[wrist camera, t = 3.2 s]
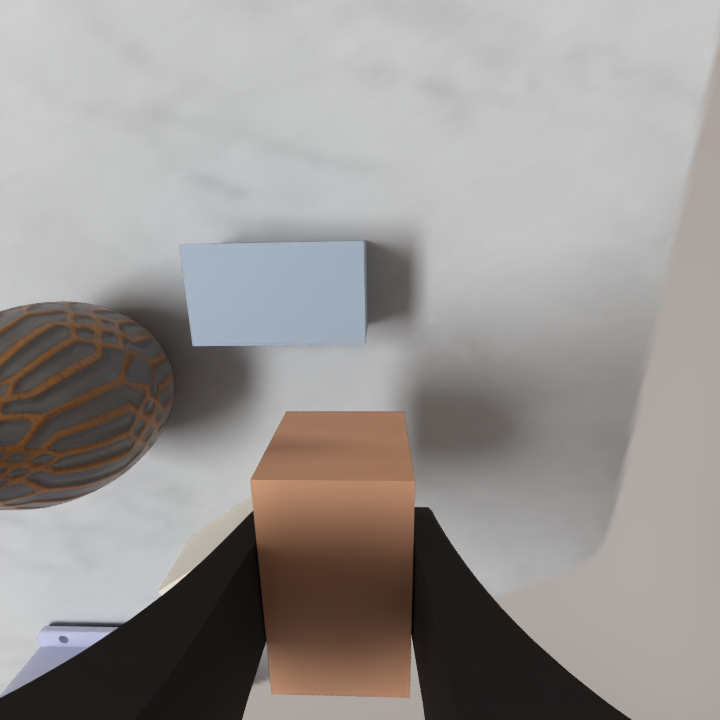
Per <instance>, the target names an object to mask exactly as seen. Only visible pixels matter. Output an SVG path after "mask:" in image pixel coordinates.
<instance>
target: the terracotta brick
mask: <svg viewBox="0 0 720 720" xmlns="http://www.w3.org/2000/svg"><path fill="white" fill-rule="evenodd" d="M250 481H251V491H252V501H253V511H254V521H255V531H256V541H257V551H258V561H259V571H260V582H261V592H262V602H263V612H264V622H265V632H266V642H267V652H268V662H269V672H270V682H271V691H272V694H294V695H295V694H296V695H331V696H332V695H333V696H367V697H403V698H404V697H405V698H410V666H411V665H410V664H411V625H412V585H413V545H414V504H415V478H414V472H413V466H412V459H411V453H410V447H409V441H408V435H407V429H406V423H405V417H404V412H379V411H286V413H285V415H284V417H283V419H282V421H281V423H280V425H279V426H278V428H277V430H276V432H275V434H274V436H273V438H272V440H271V442H270V444H269V446H268V447H267V449H266V451H265V453H264V455H263V457H262V459H261V461H260V463H259V465H258V466H257V468H256V470H255V472H254V474H253V476H252V478H251V480H250Z"/></svg>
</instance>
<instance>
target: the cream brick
mask: <svg viewBox="0 0 720 720" xmlns="http://www.w3.org/2000/svg"><path fill="white" fill-rule="evenodd" d="M252 511H253V501H252V496H251V497H250V498H248V499H247V500H245V501H244V502H242V503H241V504H239V505H238V506H236V507H235V508H233V509H232V510H230V511H229V512H227V513H226V514H224V515H223V516H221V517H220V518H218V519H217V520H215V521H214V522H212V523H211V524H209V525H208V526H206V527H205V528H203V529H202V530H200V531H199V532H197V533H196V534H194V535H193V536H192V537H191V538H190V540H189V542H188V543H187V545H186V547H185V548H184V550H183V551H182V553H181V555H180V556H179V558H178V559H177V561H176V563H175V564H174V566H173V567H172V569H171V571H170V572H169V574H168V576H167V577H166V579H165V580H164V582H163V584H162V585H161V587H160V588H159V590H158V593H159V594H160V595H161V596H162V595H163V594H165V593H166V592H167V591H168V590H170V589H171V588H172V587H173V586H174V585H176V584H177V583H178V582H179V581H180V580H181V579H183V578H184V577H185V576H186V575H187V574H188V573H189V572H190V571H192V570H193V569H194V568H195V567H196V566H197V565H198V564H199V563H200V562H202V561H203V560H204V559H205V558H206V557H207V556H208V555H209V554H210V553H211V552H212V551H213V550H214V549H215V548H216V547H217V546H218V545H219V544H220V543H221V542H222V541H223V540H224V539H225V538H226V537H227V536H228V535H229V534H230V533H231V532H232V531H233V530H234V529H235V528H236V527H237V526H238V525H239V524H240V523H241V522H242V521H243V520H244V519H245V518H246V517H247V516H248V515H249V514H250V513H251V512H252Z"/></svg>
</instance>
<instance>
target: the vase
mask: <svg viewBox="0 0 720 720" xmlns="http://www.w3.org/2000/svg"><path fill="white" fill-rule="evenodd" d="M173 396H174V378H173V373H172V369H171V366H170V363H169V360H168V358H167V356H166V354H165V352H164V350H163V349H162V347H161V346H160V344H159V343H158V342H157V340H156V339H155V338H154V337H153V336H152V335H151V334H150V333H149V332H148V331H147V330H146V329H145V328H144V327H143V326H141V325H140V324H139V323H137V322H136V321H134V320H133V319H131V318H129V317H127V316H125V315H123V314H121V313H118V312H116V311H114V310H111V309H108V308H105V307H101V306H96V305H92V304H87V303H78V302H66V301H61V302H45V303H36V304H30V305H24V306H19V307H15V308H10V309H7V310H3V311H0V510H28V509H38V508H45V507H50V506H55V505H58V504H62V503H66V502H69V501H72V500H74V499H77V498H80V497H82V496H85V495H87V494H89V493H92V492H94V491H96V490H98V489H100V488H102V487H104V486H105V485H107V484H109V483H111V482H112V481H114V480H115V479H117V478H118V477H120V476H121V475H123V474H124V473H125V472H126V471H128V470H129V469H130V468H131V467H132V466H134V465H135V464H136V463H137V462H138V461H139V460H140V459H141V458H142V457H143V456H144V455H145V454H146V453H147V451H148V450H149V449H150V448H151V447H152V445H153V444H154V443H155V442H156V440H157V439H158V437H159V436H160V434H161V432H162V430H163V428H164V427H165V425H166V422H167V420H168V417H169V414H170V411H171V408H172V404H173Z"/></svg>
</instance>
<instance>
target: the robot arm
mask: <svg viewBox="0 0 720 720" xmlns="http://www.w3.org/2000/svg"><path fill="white" fill-rule="evenodd" d="M411 634H412V640H413V646H414V652H415V658H416V664H417V670H418V676H419V683H420V688H421V695H422V701H423V707H424V715H425V720H631V719H630V718H628V717H627V716H625V715H624V714H623V713H621V712H620V711H618V710H617V709H615V708H614V707H613V706H611V705H610V704H608V703H607V702H606V701H605V700H603V699H602V698H601V697H599V696H598V695H597V694H595V693H594V692H593V691H592V690H591V689H589V688H588V687H587V686H586V685H584V684H583V683H582V682H580V681H579V680H578V679H577V678H575V677H574V676H573V675H572V674H571V673H569V672H568V671H567V670H566V669H565V668H563V666H561V665H560V664H559V663H558V662H557V661H556V660H554V659H553V658H552V657H551V656H550V655H549V654H548V653H547V652H546V651H544V650H543V649H542V648H541V647H540V646H539V645H538V644H537V643H535V642H534V641H533V640H532V639H531V638H530V637H529V636H528V635H527V634H526V633H525V632H524V631H523V630H522V629H521V628H520V627H519V626H518V625H517V624H516V623H515V622H514V621H513V620H512V619H511V617H510V616H509V615H508V614H507V613H506V612H505V611H504V610H503V609H502V608H501V607H500V606H499V604H498V603H497V602H496V601H495V600H494V599H493V598H492V596H491V595H490V594H489V593H488V592H487V591H486V589H485V588H484V587H483V586H482V584H481V583H480V582H479V581H478V579H477V578H476V577H475V576H474V574H473V573H472V572H471V570H470V569H469V568H468V567H467V565H466V564H465V562H464V561H463V560H462V558H461V557H460V555H459V554H458V553H457V551H456V550H455V548H454V547H453V545H452V544H451V542H450V541H449V539H448V538H447V536H446V535H445V533H444V531H443V530H442V528H441V527H440V525H439V523H438V521H437V520H436V518H435V516H434V514H433V512H432V511H431V510H430V509H429V508H428V507H414V545H413V585H412V625H411ZM37 639H38V642H39V645H40V648H39V649H38V650H37V651H36V653H35V654H34V655H33V656H32V657H31V659H30V660H29V661H28V662H27V663H26V665H25V666H24V667H23V668H22V670H21V671H20V672H19V673H18V674H17V676H16V677H15V678H14V679H13V680H12V682H11V683H10V684H9V685H8V686H7V688H6V689H5V690H4V691H3V692H2V694H1V695H0V720H242V718H243V714H244V711H245V707H246V703H247V700H248V697H249V693H250V691H251V687H252V684H253V681H254V678H255V675H256V672H257V669H258V665H259V662H260V659H261V656H262V653H263V650H264V647H265V643H266V632H265V622H264V612H263V602H262V592H261V582H260V571H259V561H258V551H257V541H256V531H255V521H254V511H252V512H251V513H250V514H249V515H248V516H247V517H246V518H245V519H244V520H243V521H242V522H241V523H240V524H239V525H238V526H237V527H236V528H235V529H234V530H233V531H232V532H231V533H230V534H229V535H228V536H227V537H226V538H225V539H224V540H223V541H222V542H221V543H220V544H219V545H218V546H217V547H216V548H215V549H214V550H213V551H212V552H211V553H210V554H209V555H208V556H207V557H206V558H205V559H204V560H203V561H202V562H200V563H199V564H198V565H197V566H196V567H195V568H194V569H193V570H192V571H190V572H189V573H188V574H187V575H186V576H185V577H184V578H183V579H181V580H180V581H179V582H178V583H177V584H176V585H174V586H173V587H172V588H171V589H170V590H168V591H167V592H166V593H165V594H163V595H162V596H161V597H160V598H158V599H157V600H156V601H154V602H153V603H152V604H150V605H149V606H148V607H147V608H145V609H144V610H143V611H141V612H140V613H139V614H137V615H136V616H134V617H133V618H132V619H130V620H129V621H127V622H126V623H124V624H123V625H121V626H120V627H78V626H46V627H44V628H42V630H41V631H40V632H39V633H38V635H37Z"/></svg>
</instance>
